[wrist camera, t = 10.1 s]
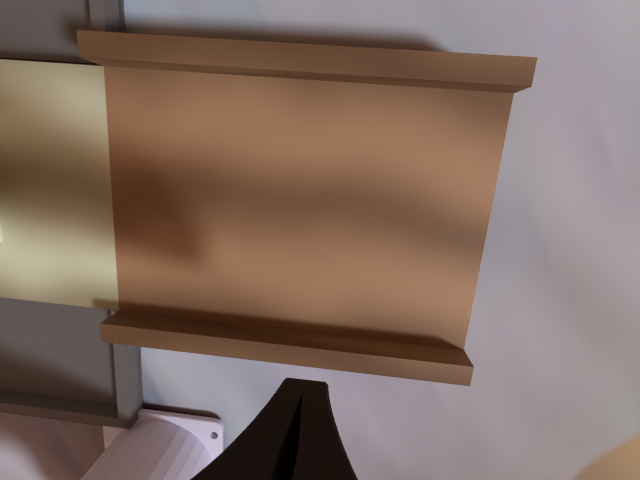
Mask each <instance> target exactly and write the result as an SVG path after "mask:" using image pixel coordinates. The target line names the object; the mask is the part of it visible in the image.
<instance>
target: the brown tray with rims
mask: <svg viewBox="0 0 640 480" xmlns="http://www.w3.org/2000/svg"><path fill="white" fill-rule="evenodd" d="M77 40H78V53H79V57H80V58H83V59H85V60H88V61H91V62H94V63H96V64H99V65H102V66H94V65H79V64H64V63H49V62H34V61H19V60H4V59H0V225H1V232H2V239H3V241H2V242H0V297H3V298H12V299H21V300H29V301H38V302H47V303H56V304H65V305H74V306H82V307H91V308H100V309H109V310H118V312H116V313H115V314H113V315H112V316H110V317H109V318H107V319H106V320H104V321H103V322H101V323H100V335H101V342H106V343H114V344H122V345H131V346H139V347H148V348H156V349H164V350H173V351H181V352H189V353H198V354H206V355H214V356H223V357H231V358H240V359H248V360H256V361H265V362H273V363H281V364H290V365H298V366H306V367H315V368H323V369H332V370H340V371H348V372H357V373H365V374H373V375H382V376H390V377H398V378H407V379H415V380H424V381H432V382H440V383H449V384H457V385H465V386H470V383H471V378H472V373H473V368H474V367H473V365H472V363H471V361H470V360H469V358H468V356H467V355H466V353H465V351H464V345H465V340H466V335H467V330H468V325H469V319H470V314H471V309H472V304H473V299H474V294H475V289H476V284H477V278H478V273H479V268H480V263H481V258H482V253H483V248H484V242H485V237H486V232H487V227H488V222H489V217H490V212H491V207H492V201H493V196H494V191H495V186H496V181H497V176H498V171H499V166H500V160H501V155H502V150H503V145H504V140H505V135H506V130H507V124H508V119H509V114H510V109H511V104H512V99H513V94H514V93H516V92H518V91H521V90H524V89H526V88H529V87H531V86H532V81H533V76H534V71H535V66H536V61H537V58H536V57H519V56H502V55H486V54H469V53H452V52H435V51H419V50H402V49H385V48H368V47H352V46H335V45H318V44H302V43H285V42H268V41H251V40H235V39H218V38H201V37H184V36H168V35H151V34H134V33H118V32H101V31H84V30H77Z"/></svg>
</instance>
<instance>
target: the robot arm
mask: <svg viewBox="0 0 640 480" xmlns="http://www.w3.org/2000/svg"><path fill="white" fill-rule="evenodd" d="M223 428H224V426H223V423H222V421H221V420H219V419H217V418H210V417H202V416H195V415H187V414H179V413H172V412H164V411H157V410H149V409H140V410H139V411H138V420H137V421H136V422H135V423H134V425H133V426H132V427H131V428H130V429H123V428H116V427H108V426H103V435H104V447H105V451H104V452H103V453H102V454H101V456H100V457H99V458H98V459H97V460H96V461H95V463H94V464H93V465H92V466H91V467H90V469H89V470H88V471H87V472H86V473H85V475H84V476H83V477H82V478H81V479H80V480H358V479H357V477H356V475H355V473H354V470H353V468H352V466H351V464H350V461H349V459H348V457H347V454H346V452H345V449H344V447H343V444H342V441H341V439H340V436H339V433H338V430H337V426H336V423H335V420H334V417H333V413H332V409H331V404H330V399H329V391H328V385H327V383H326V382H320V381H312V380H303V379H294V378H286V379H285V380H284V381H283V382H282V384H281V385H280V387H279V388H278V390H277V391H276V393H275V394H274V395H273V397H272V398H271V399H270V401H269V402H268V403H267V404H266V406H265V407H264V408H263V409H262V410H261V412H260V413H259V414H258V415H257V416H256V418H255V419H254V420H253V421H252V422H251V423H250V424H249V426H248V427H247V428H246V429H245V430H244V431H243V432H242V433H241V434H240V435H239V436H238V437H237V438H236V439H235V440H234V441H233V442H232V443H231V444H230V445H229V446H228V447H227V448H226V449H225V450H224V451H223ZM213 432H215V433H217V434H214V433H213Z"/></svg>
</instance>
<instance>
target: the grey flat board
mask: <svg viewBox="0 0 640 480" xmlns="http://www.w3.org/2000/svg"><path fill="white" fill-rule="evenodd" d="M77 30H84V31H101V32H118V33H125V23H124V2H123V0H0V59H13V60H28V61H43V62H58V63H74V64H89V65H99V64H96V63H94V62H91V61H88V60H85V59H83V58H80V57H79V53H78V40H77ZM116 312H118V310H109V309H100V308H91V307H82V306H74V305H65V304H56V303H47V302H38V301H29V300H21V299H12V298H3V297H0V412H5V413H12V414H20V415H27V416H35V417H42V418H49V419H57V420H64V421H71V422H79V423H86V424H94V425H101V426H108V427H116V428H123V429H130V428H131V427H132V426H133V425H134V423H135V422H136V421H137V420H138V411H139V410H140V409H143V391H142V371H141V350H140V347H139V346H131V345H122V344H114V343H106V342H101V335H100V323H101V322H103V321H104V320H106V319H107V318H109V317H110V316H112V315H113V314H115V313H116Z"/></svg>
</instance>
